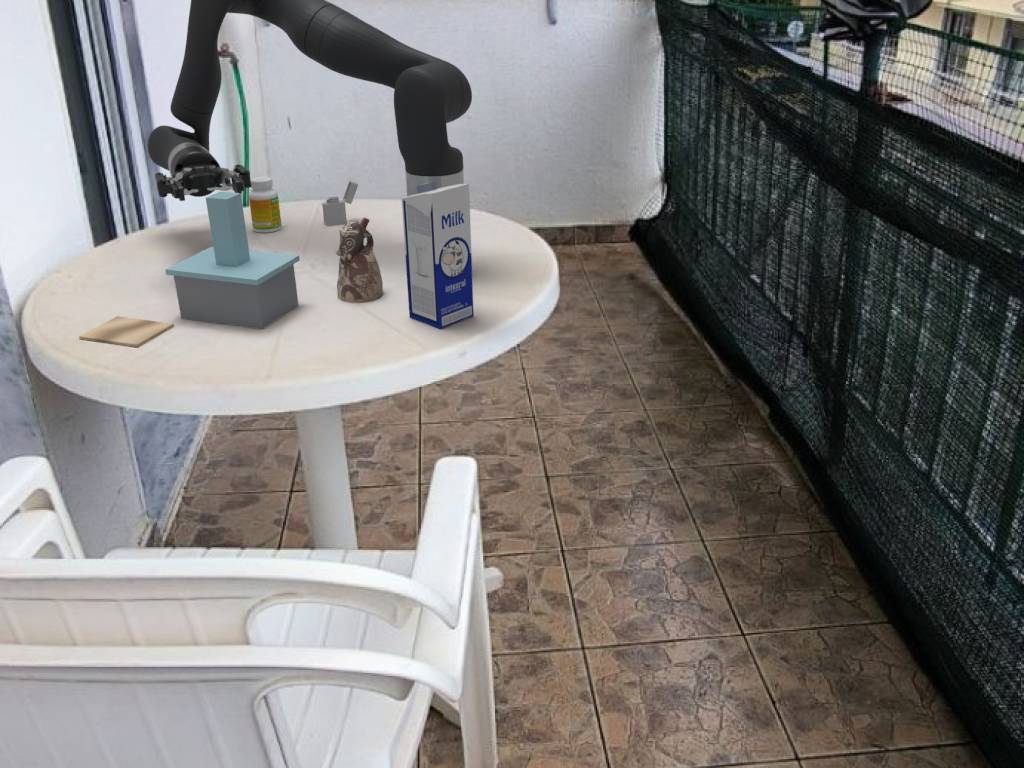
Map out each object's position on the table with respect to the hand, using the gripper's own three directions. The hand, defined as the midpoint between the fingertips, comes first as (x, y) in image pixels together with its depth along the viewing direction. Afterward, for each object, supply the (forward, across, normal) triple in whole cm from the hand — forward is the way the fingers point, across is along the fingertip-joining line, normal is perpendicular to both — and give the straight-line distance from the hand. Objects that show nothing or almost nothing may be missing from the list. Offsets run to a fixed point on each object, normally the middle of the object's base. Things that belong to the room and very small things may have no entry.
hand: (210, 191), depth 144 cm
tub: (+12, 0, +16) cm, 20 cm away
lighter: (-27, +28, +16) cm, 42 cm away
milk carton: (+28, +26, +16) cm, 41 cm away
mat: (+12, -16, +16) cm, 26 cm away
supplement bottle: (-30, +14, +16) cm, 37 cm away
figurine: (+13, +19, +16) cm, 28 cm away
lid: (+11, 0, +9) cm, 14 cm away
